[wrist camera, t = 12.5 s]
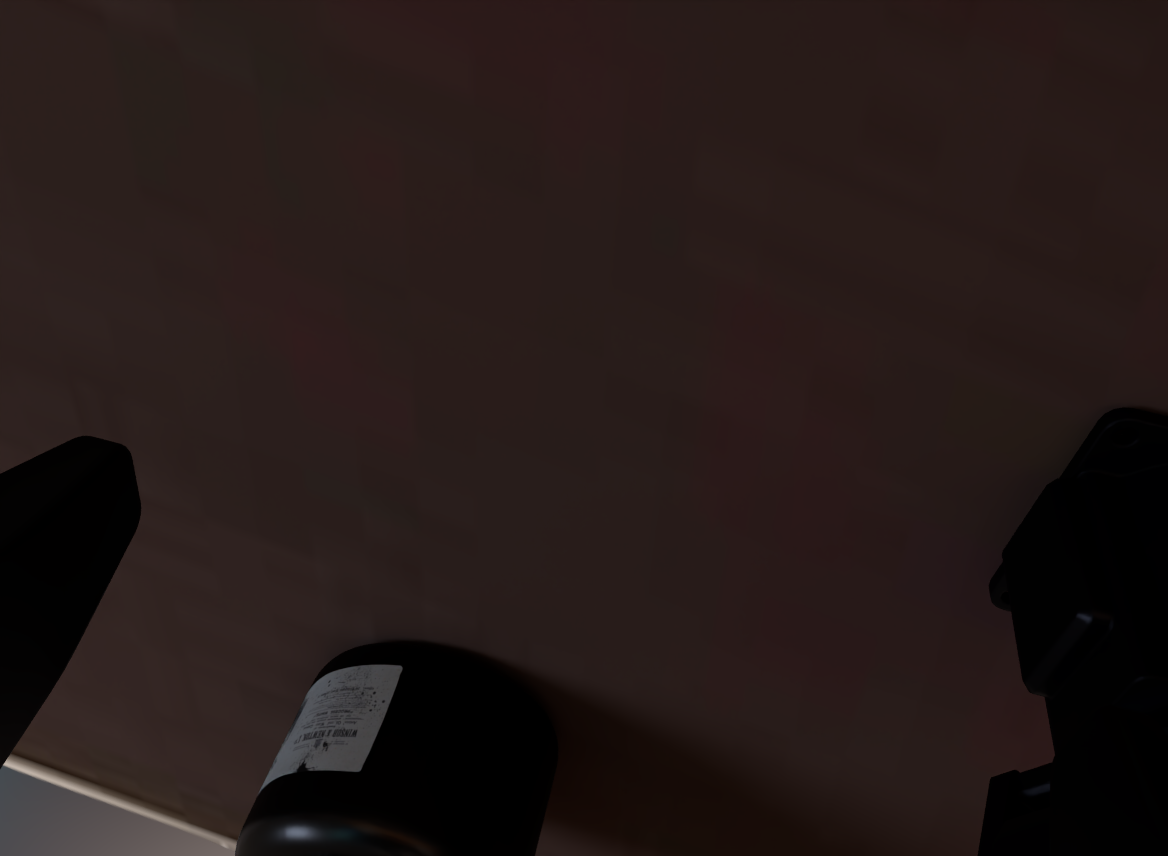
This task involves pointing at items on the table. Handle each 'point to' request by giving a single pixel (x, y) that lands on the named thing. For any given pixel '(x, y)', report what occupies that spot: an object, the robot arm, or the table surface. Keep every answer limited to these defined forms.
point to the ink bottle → (407, 762)
